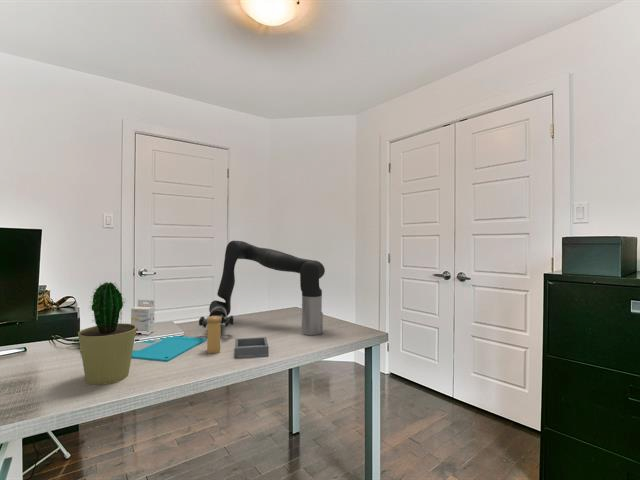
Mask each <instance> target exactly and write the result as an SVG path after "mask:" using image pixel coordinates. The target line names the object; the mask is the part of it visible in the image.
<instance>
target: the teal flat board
mask: <svg viewBox="0 0 640 480" xmlns="http://www.w3.org/2000/svg"><path fill="white" fill-rule="evenodd" d="M172 336H173V337H166V338H160V339H154V340H148V341H144V342H136V343H134V345H133V351H132V357H131V359H135V360H136V359H137V360H146V361H156V362H170V361H172V360H174V359H175V358H177V357H179V356H181V355H183V354H184V353H186V352H188V351H190V350H192V349H193V348H195V347H197V346H199V345H200V344H202V343H204V342H207V338H206V337H194V336H193V337H192V336H180V335H179V336H178V335H172Z"/></svg>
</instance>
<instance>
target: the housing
mask: <svg viewBox="0 0 640 480" xmlns="http://www.w3.org/2000/svg"><path fill="white" fill-rule="evenodd" d="M234 341H235V345H234V346H235V347H234V359H242V358H257V357H269V353H270V351H269V349H270V348H269V343H268V340H267V336H262V337H261V336H260V337H259V336H258V337H247V338H246V337H245V338H241V337H240V338H235V340H234Z"/></svg>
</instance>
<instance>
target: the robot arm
mask: <svg viewBox="0 0 640 480" xmlns="http://www.w3.org/2000/svg"><path fill="white" fill-rule="evenodd" d="M224 253H225V254H224V262H223V269H222V276H221V280H220V283H219V286H218V289H217V294H216V295H217V296H218V297H219V298H220V299H223V300H224V301H222V300H212V301H211V302H210V304H209V306H208V308H209V309H208V311H209V316H208V317H210V316H221V317H222V321H221V326H224V327H225V328H227V327H229V325H230V326H231V325H232V326H233V325H234V315H230V314H231V309H232V308H231V306H232V305H231V301H232V300H231V299H232V295H233V291H234V287H235V284H236V283H235V281H236V278H235V269H236V268H235V267H236V264H237V261H238V260H249V261H253V262H255V263H258V264H259V265H261V266H263V267H264V268H269V269H270V270H275V271H279V272H287V273H297V274H299V278H300V279H299V282H300V284H299V285H300V291H301V334H303V335H306V336H317V335H321V334H323V332H324V331H323V330H324V329H323V327H324V326H323V325H324V323H323V322H324V319H323V318H324V315H323V314H324V313H323V311H322V310H323V309H322V307H323V305H322V304H323V300H322V299H323V290H322V289H321V287H320V279H322V277H324V275H325V273H326V272H325V269H326V268H325V266H324V264H323V263H322V262H320V261H318V260H314V259H313V260H312V259H306V258H301V257H297V256H294V255H292V254H289V253H286V252H283V251H280V250H276V249H271V248H265V247H259V246H256V245H253V244H251V243H249V242H245V241H242V240H231V241H230V242H228V243H227V245H226V248H225V252H224ZM228 316H229V317H228ZM199 326H200V327H201V326H202V327H203V328H204V329H205V328H206V329H207V327H208V323H207V317H205V316H200V318H199V319H198V327H199Z"/></svg>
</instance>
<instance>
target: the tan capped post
mask: <svg viewBox="0 0 640 480" xmlns="http://www.w3.org/2000/svg"><path fill="white" fill-rule="evenodd" d="M206 318H207V323H208V325H207V328H206V329H207V331H206V333H207V336H206V337H207V338H206V339H207V340H206V344H207V345H206V346H207V347H206V348H207V350H206V352H207V354H212V353H213V354H216V353H220V351H221V329H222V328H221V326H222V325H221V321H222V317H221V316H210V317H209V316H207V317H206Z"/></svg>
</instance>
